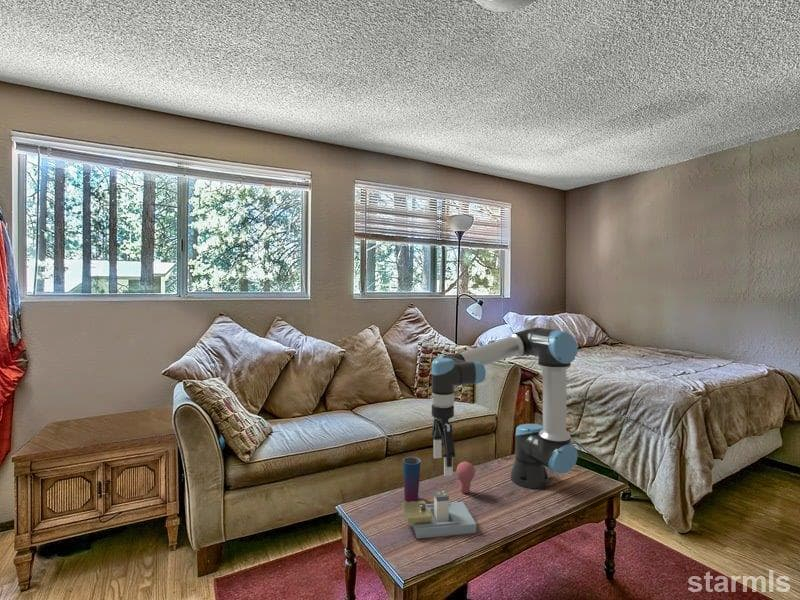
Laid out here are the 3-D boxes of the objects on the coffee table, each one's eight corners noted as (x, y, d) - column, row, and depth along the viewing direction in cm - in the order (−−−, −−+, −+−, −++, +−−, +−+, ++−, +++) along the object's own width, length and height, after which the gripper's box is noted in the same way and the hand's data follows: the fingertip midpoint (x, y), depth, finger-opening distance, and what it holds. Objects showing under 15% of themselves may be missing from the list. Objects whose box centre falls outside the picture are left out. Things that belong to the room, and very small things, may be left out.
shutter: (424, 507, 146) (424, 497, 145) (431, 523, 136) (431, 512, 136) (402, 509, 144) (402, 498, 144) (407, 525, 134) (407, 514, 134)
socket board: (462, 509, 150) (462, 500, 150) (476, 532, 136) (476, 522, 136) (408, 514, 147) (408, 504, 147) (416, 538, 133) (416, 527, 133)
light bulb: (474, 498, 159) (474, 467, 158) (455, 495, 160) (456, 465, 160) (474, 489, 166) (475, 459, 165) (456, 487, 167) (457, 457, 166)
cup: (406, 505, 153) (407, 465, 152) (399, 496, 159) (399, 458, 158) (423, 501, 155) (423, 462, 155) (415, 493, 162) (415, 455, 161)
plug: (445, 518, 144) (445, 489, 143) (448, 525, 140) (448, 495, 139) (433, 519, 143) (434, 490, 143) (436, 526, 139) (437, 496, 139)
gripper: (423, 395, 152) (423, 452, 153) (441, 417, 127) (441, 484, 128) (443, 394, 153) (443, 450, 154) (465, 415, 128) (465, 482, 129)
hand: (442, 466), depth 141 cm, fingers open, 13 cm apart
